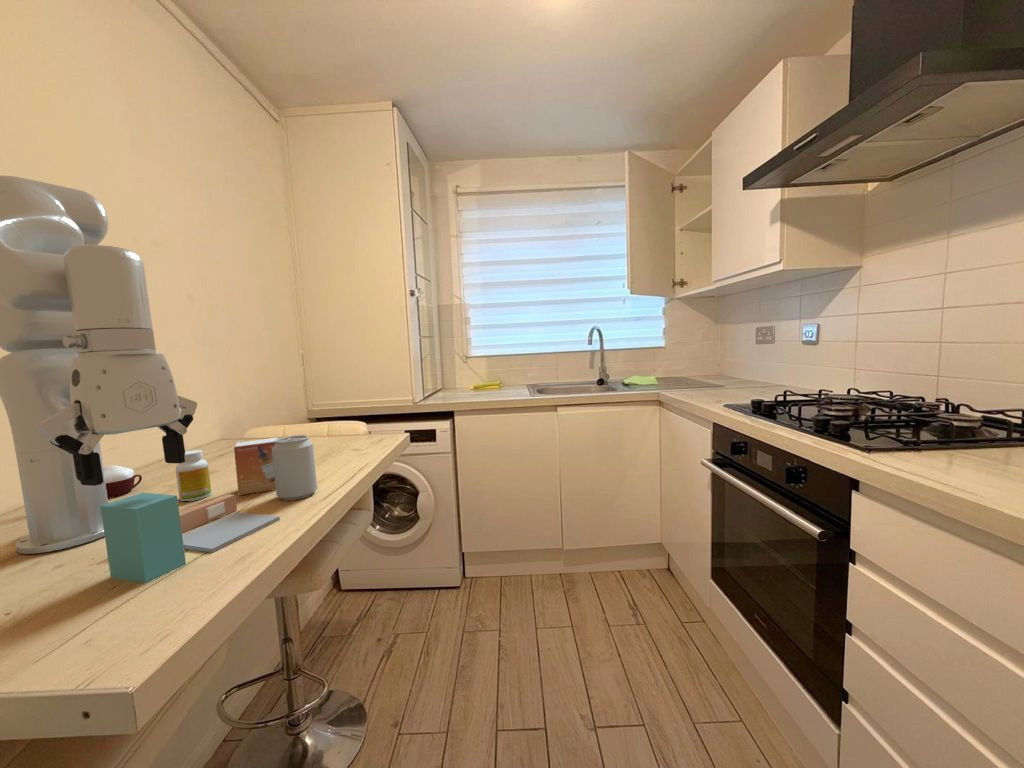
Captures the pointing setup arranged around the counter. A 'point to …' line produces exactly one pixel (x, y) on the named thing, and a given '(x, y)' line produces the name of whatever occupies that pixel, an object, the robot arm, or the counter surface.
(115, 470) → the cocoa
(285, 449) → the can
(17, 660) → the counter surface
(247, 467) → the small box
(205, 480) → the supplement bottle
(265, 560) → the counter surface
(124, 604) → the counter surface
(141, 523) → the carton block
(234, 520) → the mat
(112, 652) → the counter surface
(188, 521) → the price rail
